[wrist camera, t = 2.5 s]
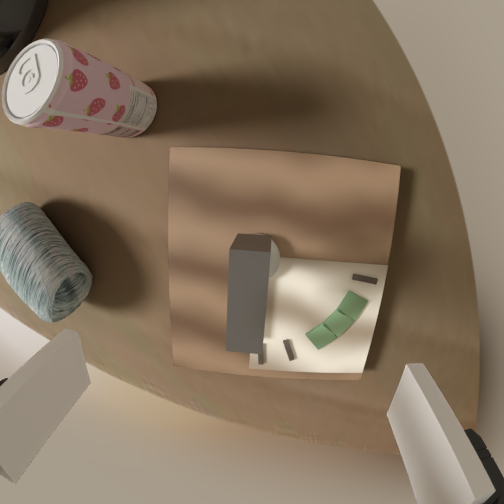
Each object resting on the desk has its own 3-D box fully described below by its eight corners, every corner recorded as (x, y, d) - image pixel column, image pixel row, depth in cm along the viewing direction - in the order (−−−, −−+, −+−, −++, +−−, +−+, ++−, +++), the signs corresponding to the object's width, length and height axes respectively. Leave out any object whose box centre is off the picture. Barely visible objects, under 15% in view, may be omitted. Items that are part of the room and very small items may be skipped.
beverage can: (131, 72, 25) (35, 22, 11) (169, 103, 26) (80, 57, 12) (97, 117, 27) (-12, 100, 12) (132, 149, 27) (25, 145, 13)
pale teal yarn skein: (113, 282, 28) (24, 325, 20) (93, 311, 34) (25, 346, 26) (62, 173, 28) (-20, 195, 21) (50, 219, 34) (-15, 242, 27)
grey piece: (235, 217, 26) (212, 247, 17) (282, 221, 26) (288, 253, 16) (230, 334, 29) (212, 404, 20) (272, 337, 29) (269, 410, 19)
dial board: (176, 148, 27) (168, 147, 25) (392, 165, 26) (402, 166, 24) (178, 355, 33) (172, 368, 31) (356, 368, 32) (360, 381, 30)
